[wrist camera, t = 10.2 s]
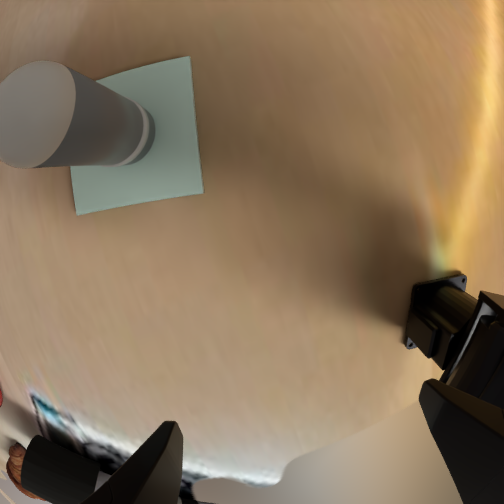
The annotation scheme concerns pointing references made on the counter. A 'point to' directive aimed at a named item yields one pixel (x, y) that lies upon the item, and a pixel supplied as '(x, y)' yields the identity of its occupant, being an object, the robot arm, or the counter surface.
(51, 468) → the striped bottle
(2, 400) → the plant pot
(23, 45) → the counter surface
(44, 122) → the cylinder
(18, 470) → the pastry
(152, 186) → the coaster
